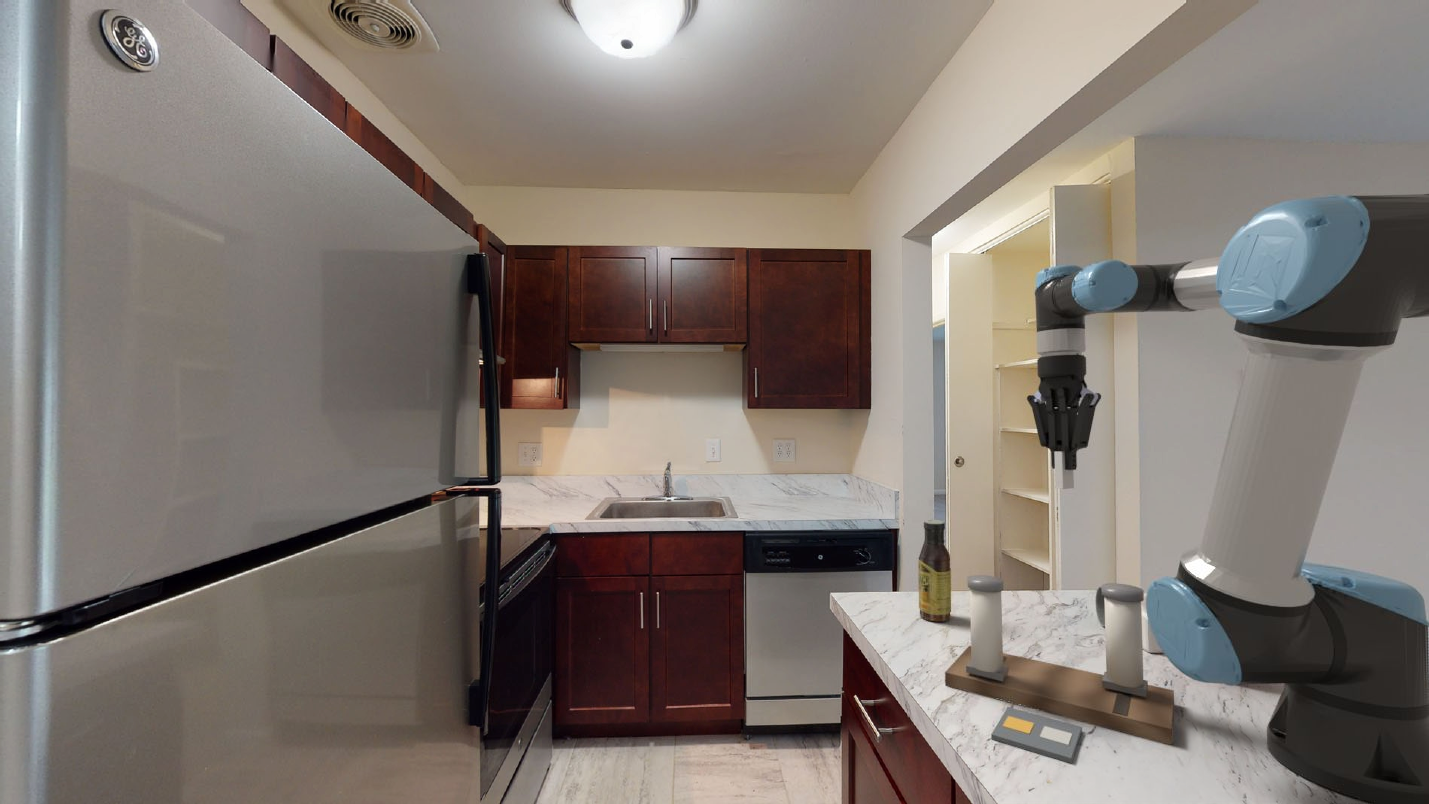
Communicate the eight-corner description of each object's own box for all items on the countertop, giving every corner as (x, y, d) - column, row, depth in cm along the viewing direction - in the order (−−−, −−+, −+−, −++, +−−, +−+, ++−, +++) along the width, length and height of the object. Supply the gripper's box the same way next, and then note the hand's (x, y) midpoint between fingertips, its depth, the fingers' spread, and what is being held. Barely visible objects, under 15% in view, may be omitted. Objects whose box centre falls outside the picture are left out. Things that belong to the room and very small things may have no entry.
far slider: (1009, 671, 92) (1007, 578, 93) (1001, 683, 88) (999, 586, 89) (974, 662, 96) (972, 573, 96) (964, 674, 92) (962, 580, 92)
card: (1081, 731, 79) (1081, 725, 79) (1071, 763, 72) (1071, 757, 72) (1007, 710, 85) (1007, 705, 85) (991, 738, 78) (991, 733, 78)
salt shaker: (1148, 653, 104) (1146, 598, 104) (1133, 644, 108) (1132, 591, 108) (1172, 654, 103) (1171, 598, 103) (1157, 645, 107) (1156, 591, 107)
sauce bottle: (915, 612, 126) (913, 517, 127) (946, 612, 126) (944, 517, 126) (923, 623, 120) (921, 523, 120) (956, 624, 119) (953, 523, 120)
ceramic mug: (1158, 636, 111) (1156, 594, 112) (1107, 632, 114) (1106, 591, 114) (1135, 618, 121) (1134, 579, 122) (1089, 615, 124) (1088, 577, 124)
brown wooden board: (1174, 704, 86) (1173, 689, 86) (1172, 745, 76) (1171, 728, 76) (969, 657, 103) (969, 645, 103) (945, 685, 93) (945, 671, 93)
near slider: (1148, 685, 87) (1145, 587, 87) (1146, 699, 83) (1143, 595, 83) (1105, 676, 90) (1102, 581, 90) (1101, 689, 86) (1098, 589, 86)
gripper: (1111, 352, 102) (1115, 491, 102) (1044, 358, 114) (1047, 482, 114) (1080, 351, 99) (1084, 494, 99) (1014, 358, 112) (1018, 485, 111)
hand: (1064, 488), depth 107 cm, fingers closed
